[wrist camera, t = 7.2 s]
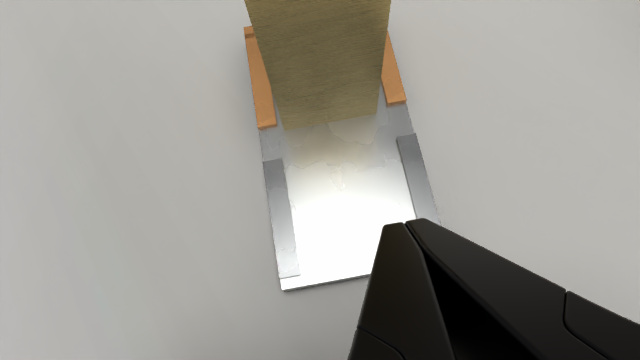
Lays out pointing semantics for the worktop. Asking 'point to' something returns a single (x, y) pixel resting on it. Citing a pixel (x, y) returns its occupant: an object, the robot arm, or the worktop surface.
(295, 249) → the silver flat plate
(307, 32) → the brass block
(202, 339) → the worktop surface
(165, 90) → the worktop surface
